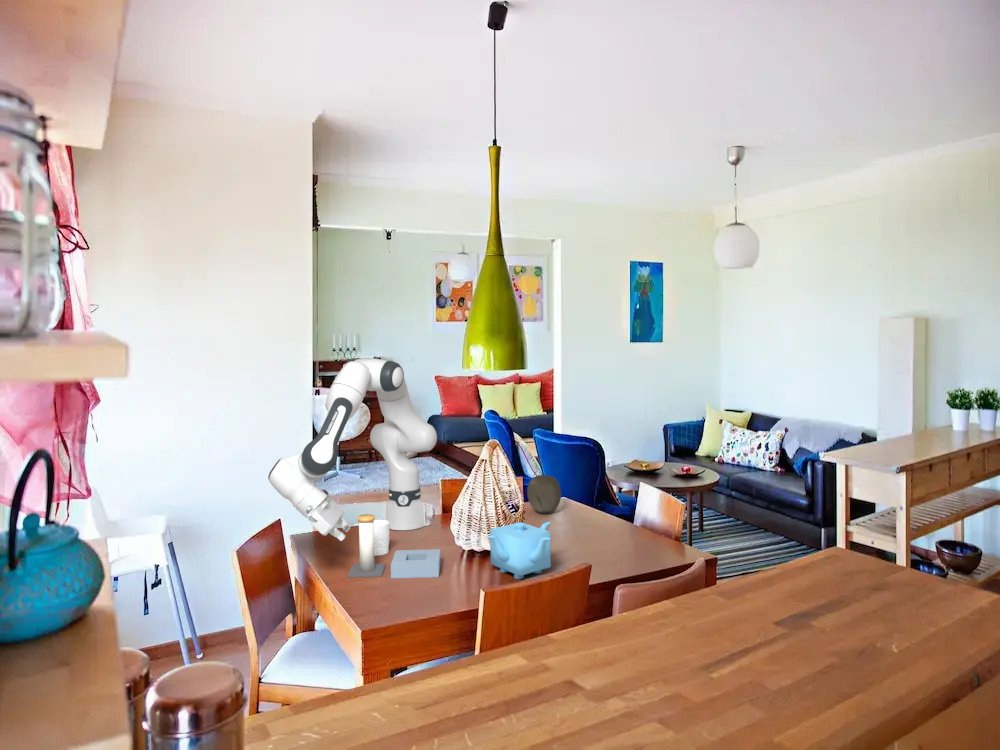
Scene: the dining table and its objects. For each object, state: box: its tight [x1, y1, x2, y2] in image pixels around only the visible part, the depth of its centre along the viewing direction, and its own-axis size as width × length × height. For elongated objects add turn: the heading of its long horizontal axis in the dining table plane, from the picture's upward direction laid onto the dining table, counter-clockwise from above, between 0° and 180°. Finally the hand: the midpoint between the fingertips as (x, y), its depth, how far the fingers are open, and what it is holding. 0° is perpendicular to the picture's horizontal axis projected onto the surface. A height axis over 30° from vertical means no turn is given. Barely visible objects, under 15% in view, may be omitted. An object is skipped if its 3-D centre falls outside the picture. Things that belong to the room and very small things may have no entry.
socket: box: [390, 548, 442, 579], centre depth 211 cm, size 14×14×4 cm
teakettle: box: [486, 521, 552, 580], centre depth 208 cm, size 19×19×15 cm
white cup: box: [374, 519, 391, 557], centre depth 228 cm, size 8×8×10 cm
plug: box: [357, 513, 376, 571], centre depth 210 cm, size 5×5×16 cm
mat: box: [347, 562, 387, 578], centre depth 211 cm, size 10×10×1 cm
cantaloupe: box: [526, 474, 562, 515], centre depth 277 cm, size 14×14×15 cm
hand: (346, 534), depth 209 cm, fingers open, 8 cm apart
